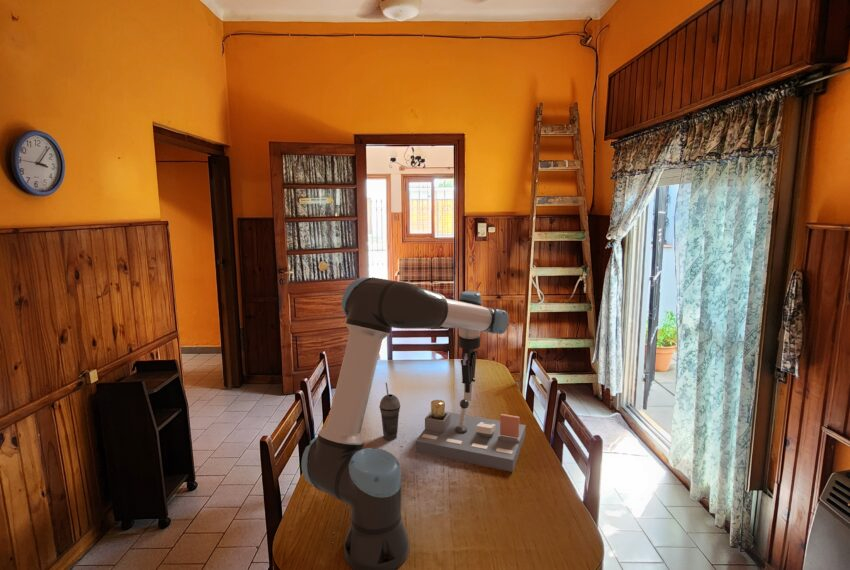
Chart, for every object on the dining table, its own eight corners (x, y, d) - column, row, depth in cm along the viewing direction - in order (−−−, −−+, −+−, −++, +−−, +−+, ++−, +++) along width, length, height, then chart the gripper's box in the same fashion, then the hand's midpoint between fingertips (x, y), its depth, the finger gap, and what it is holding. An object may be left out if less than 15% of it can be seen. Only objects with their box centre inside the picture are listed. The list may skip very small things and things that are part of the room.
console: (512, 472, 142) (513, 447, 141) (415, 452, 153) (415, 429, 152) (525, 435, 164) (526, 414, 163) (439, 420, 175) (439, 400, 174)
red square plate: (518, 438, 152) (519, 418, 151) (500, 434, 154) (500, 415, 153) (518, 436, 153) (519, 416, 152) (500, 433, 155) (501, 413, 154)
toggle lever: (464, 426, 157) (468, 399, 159) (455, 424, 159) (459, 398, 161) (467, 426, 160) (470, 400, 162) (458, 424, 161) (461, 398, 163)
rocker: (490, 434, 152) (491, 427, 152) (475, 431, 154) (476, 425, 154) (495, 430, 158) (495, 423, 159) (480, 427, 160) (481, 421, 160)
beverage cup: (397, 443, 159) (397, 387, 155) (377, 441, 160) (376, 386, 157) (402, 433, 166) (402, 379, 162) (383, 431, 167) (382, 378, 164)
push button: (442, 423, 159) (442, 406, 158) (428, 420, 161) (429, 404, 159) (446, 417, 163) (446, 401, 162) (433, 414, 165) (433, 398, 164)
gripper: (475, 342, 154) (473, 408, 159) (484, 332, 166) (482, 394, 171) (453, 339, 157) (452, 405, 161) (464, 330, 169) (463, 391, 173)
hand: (468, 399), depth 166 cm, fingers closed
